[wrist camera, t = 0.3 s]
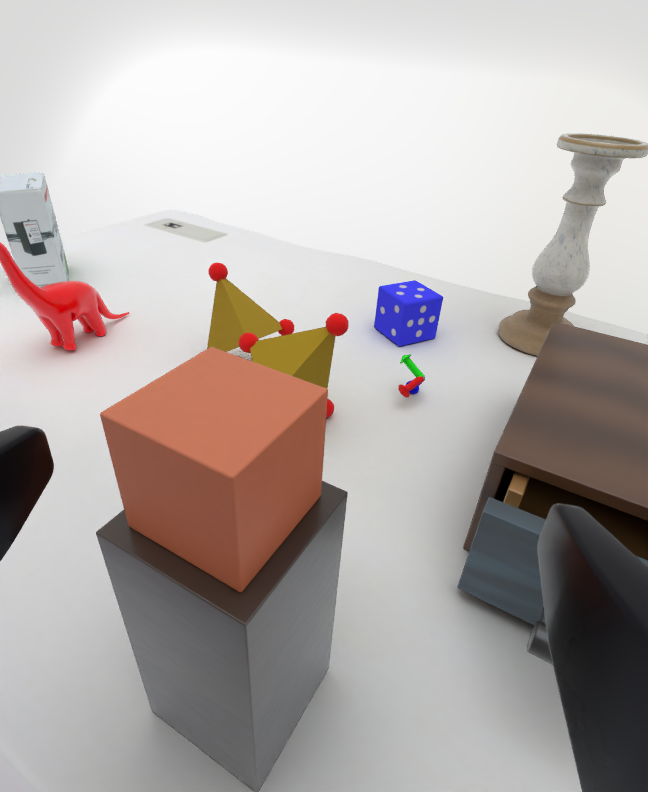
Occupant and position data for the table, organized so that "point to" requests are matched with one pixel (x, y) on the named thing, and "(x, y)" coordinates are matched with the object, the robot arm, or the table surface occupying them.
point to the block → (219, 460)
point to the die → (407, 312)
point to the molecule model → (280, 337)
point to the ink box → (32, 228)
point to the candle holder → (569, 239)
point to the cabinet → (579, 423)
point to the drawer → (531, 550)
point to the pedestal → (232, 636)
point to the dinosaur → (59, 304)
